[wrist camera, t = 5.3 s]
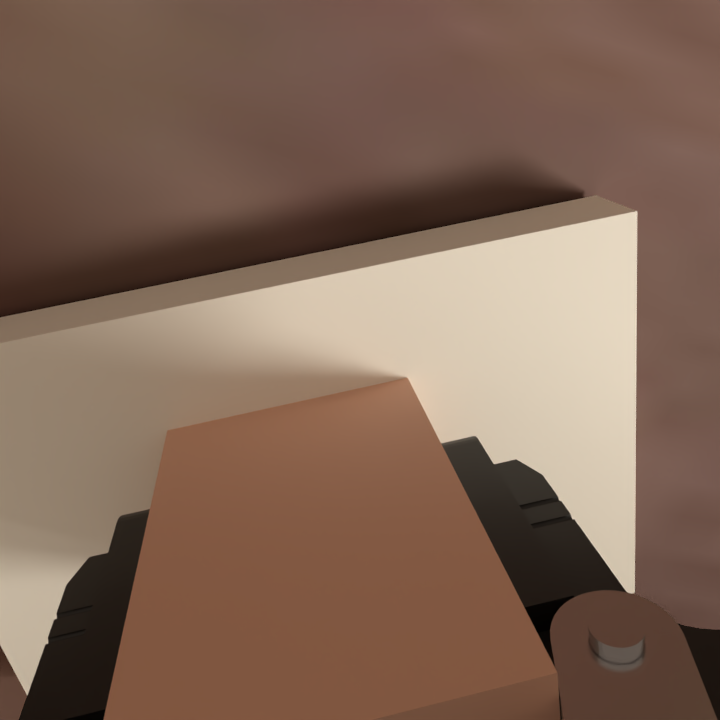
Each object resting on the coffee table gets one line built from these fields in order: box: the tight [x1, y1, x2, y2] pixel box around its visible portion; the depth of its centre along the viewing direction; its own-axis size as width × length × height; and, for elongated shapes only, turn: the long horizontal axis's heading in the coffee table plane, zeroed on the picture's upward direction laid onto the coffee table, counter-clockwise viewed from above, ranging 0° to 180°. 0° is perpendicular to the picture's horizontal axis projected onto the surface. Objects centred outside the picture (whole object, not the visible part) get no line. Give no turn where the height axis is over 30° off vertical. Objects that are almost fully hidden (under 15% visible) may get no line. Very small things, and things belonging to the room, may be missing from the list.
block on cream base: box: [0, 195, 637, 720], centre depth 10 cm, size 12×8×7 cm, turn 99°
